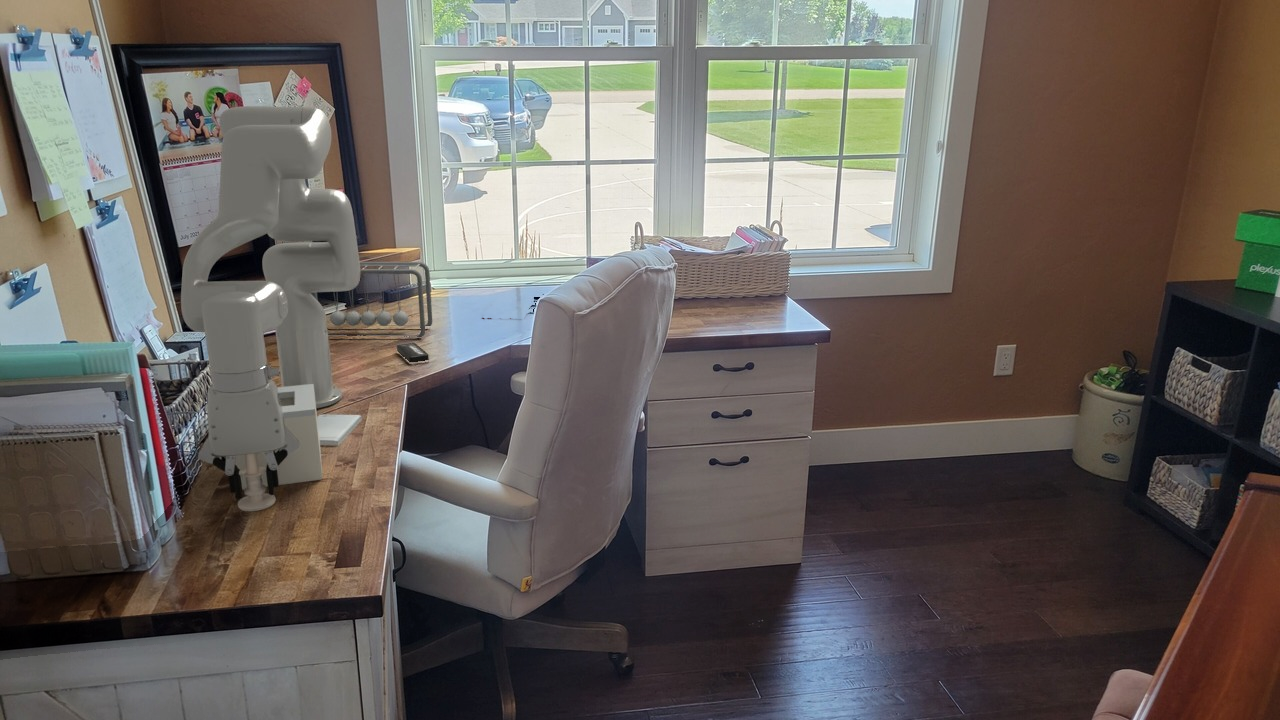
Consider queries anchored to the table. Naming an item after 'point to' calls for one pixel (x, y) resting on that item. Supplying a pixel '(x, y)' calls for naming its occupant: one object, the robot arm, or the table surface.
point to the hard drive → (336, 428)
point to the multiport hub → (412, 352)
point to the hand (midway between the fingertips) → (255, 492)
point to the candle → (254, 486)
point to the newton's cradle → (383, 316)
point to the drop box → (305, 428)
